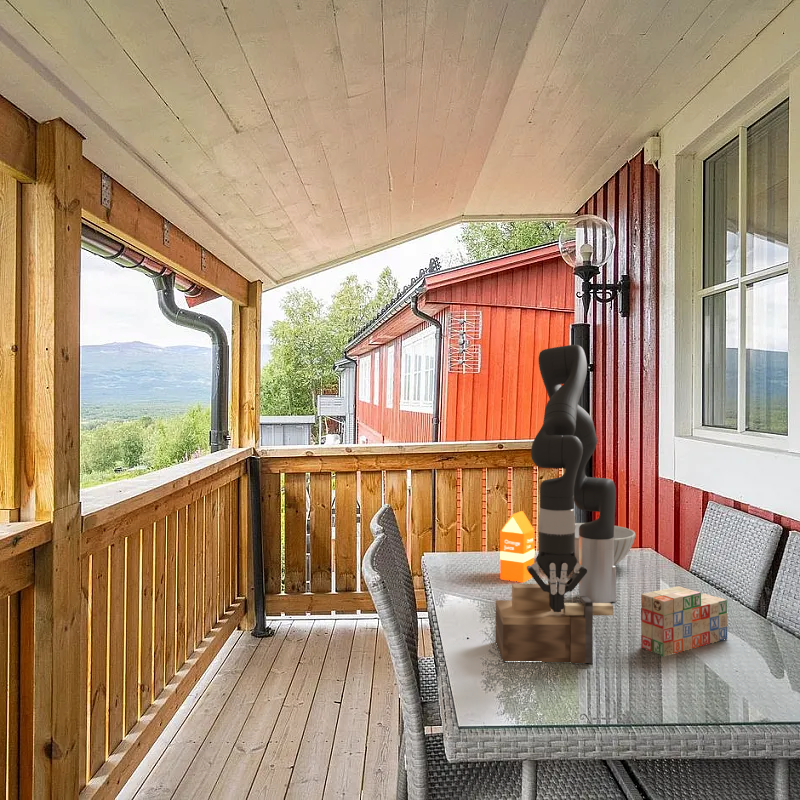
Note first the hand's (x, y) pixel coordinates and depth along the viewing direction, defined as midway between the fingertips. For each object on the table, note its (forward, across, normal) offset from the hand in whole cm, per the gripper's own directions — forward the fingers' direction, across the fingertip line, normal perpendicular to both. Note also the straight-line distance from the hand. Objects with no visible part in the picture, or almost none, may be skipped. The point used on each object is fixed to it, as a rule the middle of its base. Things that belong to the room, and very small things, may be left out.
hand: (556, 610), depth 146 cm
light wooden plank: (+1, -7, 0) cm, 7 cm away
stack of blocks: (+11, -31, -10) cm, 34 cm away
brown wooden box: (+10, +2, -4) cm, 11 cm away
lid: (+3, +4, -4) cm, 7 cm away
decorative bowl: (+11, -28, -78) cm, 83 cm away
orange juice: (+11, -2, -65) cm, 66 cm away
